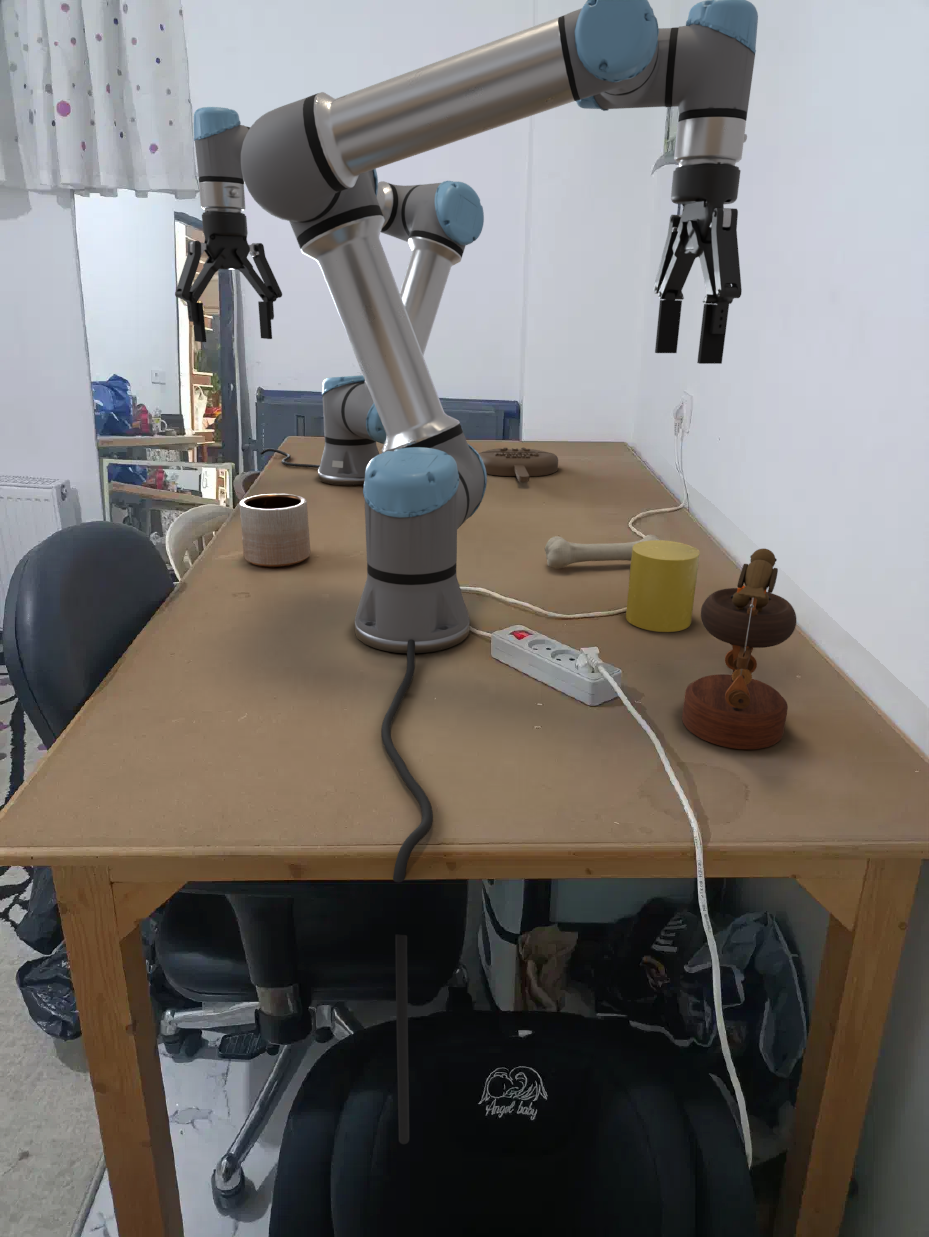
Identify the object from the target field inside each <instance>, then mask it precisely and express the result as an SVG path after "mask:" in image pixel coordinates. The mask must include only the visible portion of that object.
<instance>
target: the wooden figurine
mask: <svg viewBox="0 0 929 1237" xmlns="http://www.w3.org/2000/svg"><path fill="white" fill-rule="evenodd" d="M749 557H750V563H743V565H742V568H741V571H740V574H739V577H738V580H737V585H736V586H737V587H732V588H729V587H728V588H722V589H718V590H716V591H714V592H712V593H711V594H709V595H708V597H706V598H705V600H704V601H703V603H702V605H701V608H700V620H701V623H702V625H703V627H704V628H705V630H706V631H707V632H708V633H709V634H710V636H712V637H714V638H715V639H716V640H719V641H721V642H723V643H726V644H729V645H730V646H732V649H730V650H729V651H727V652H726V654H725V656H724V663H725V665H726V667H727V668H728V669H730V670H732V671H731V674H727V673H725V674H724V673H722V674H721V673H720V674H710V675H705V676H702V677H700V678H697V679H696V680H694V681H692V682H691V683H690V684H688V685H687V686H686V688H685V691H684V698H683V707H682V714H681V721H682V724H683V726H685V728H686V729H687V730H688V731H689V732H690V733H691V734H693V735H694V736H696V737H698V738H699V739H701V740H704V742H705V741H706V742H708V743H710V744H714V745H717V746H721V747H725V748H730V749H738V750H759V749H764V748H769V747H771V746H774V745H775V744H777V743H778V742H780V741H781V740H782V738H783V737H784V731H785V726H786V721H787V716H788V709H789V706H788V702H787V701H786V698H784V696H783V695H782V694H781V693H780V692H779V691H778V690H777V689H775V687H772V686H771V685H769V684H768V683H765V682H764V681H761V680H758V679H755V678H753V673H754V672H755V671H756V669H757V668H758V661H757V659H756V657H755V656H754V655H753V654H752V653H753V650H754V649H763V648H764V649H765V648H771V647H775V646H778V645H780V644H783V643H784V642H786V641H787V640H788V639H790V638H791V636H792V635H793V634H794V632H795V630H796V627H797V613H796V611H795V608H794V607H793V606H792V604H791V603H790V602H789V601H788V600H787V599H785V598H784V597H782V596H780V595H777V594H776V593H773V592H774V589H775V586H776V582H777V578H778V574H779V573H778V572H779V569H778V567H774V566H775V564H776V562H777V560H778V559H777V558H776V556H775V554H774V552H773V551H772V550H771V549H769V548H759V549H756V550H754V552H753V553H752V554H751V555H750V556H749Z"/></svg>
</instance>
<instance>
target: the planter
mask: <svg viewBox="0 0 929 1237" xmlns="http://www.w3.org/2000/svg"><path fill="white" fill-rule="evenodd" d="M239 515H240V526H241V541H242V542H241V543H242V555H243V558H244V560H246V561H247V562H248V563H250V564H252V565H254V566H257V567H258V566H259V567H265V568H266V567H268V568H282V567H289V566H293V565H297V564H300V563H302V562H303V561H305V560H307V559H308V558H309V557H310V555H311V540H310V526H309V512H308V500H307V499H306V498H305V497H303V496H301V495H296V494H290V493H267V494H265V493H264V494H258V495H253V496H249V497H246V498H244V499H242V500H240V502H239Z"/></svg>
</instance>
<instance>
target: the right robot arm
mask: <svg viewBox="0 0 929 1237" xmlns="http://www.w3.org/2000/svg"><path fill="white" fill-rule="evenodd" d="M758 24H759V14H758V10H757V7H756V6H755V5H754V4H753V3H752V2H751V1H750V0H701V1H699V2H697V3H696V4H693V6H692V7H691V8H690V9H689V12H688V17H687V20H686V21H685V25H683V26H677V27H660V28H659V23H658V18H657V17H656V15H655V12H654V9H653V7H652V6H651V4H650V2H649V0H587V1H586V2H585V3H584V4H583V5H582V7H581V8H578V9H576V10H573V11H570V12H568V13H566V14H564V15H561V16H558V17H556V18H553V19H550V20H547V21H545V22H542V23H538V24H537V25H533V26H530V27H528V28H526V29H523V30H520V31H518V32H514V33H512V34H509V35H506V36H504V37H501V38H498V39H495V40H492V41H490V42H487V43H485V44H482V45H479V46H476V47H473V48H470V49H468V50H465V51H462V52H459V53H457V54H454V55H452V56H449V57H446V58H443V59H440V60H438V61H434V62H432V63H429V64H427V65H424V66H422V67H419V68H416V69H413V70H411V71H407V72H404V73H402V74H399V75H396V76H394V77H391V78H389V79H385V80H382V81H380V82H378V83H375V84H372V85H369V86H367V87H364V88H361V89H358V90H356V91H353V92H350V93H347V94H345V95H342V96H339V97H336V98H335V97H333V96H331V95H329V94H328V93H326V92H325V91H321V92H318V93H315V94H312V95H310V96H307V97H303V98H301V99H299V100H296V101H293V102H290V103H288V104H284V105H281V106H279V107H276V108H274V109H272V110H270V111H267V112H265V113H264V114H262V115H260V116H259V118H257V119H256V120H255V121H254V122H253V124H252V125H251V126H249V127H250V129H249V131H248V132H247V134H246V137H245V139H244V141H243V145H242V150H241V170H242V175H243V179H244V182H245V184H244V185H245V186H246V188H247V191H248V192H249V194H250V195H251V197H252V199H253V200H254V201H255V202H256V203H257V205H259V207H261V209H263V210H264V211H265V212H267V213H268V214H270V215H271V216H273V217H275V218H278V219H280V220H282V221H287V222H289V225H290V226H291V229H292V232H293V234H294V237H295V239H296V242H297V244H298V246H299V247H298V248H299V249H300V252H301V253H302V254H303V255H305V256H306V257H309V258H311V259H313V260H315V262H317V264H318V265H319V268H320V271H321V273H322V276H323V278H324V281H325V283H326V286H327V288H328V290H329V293H330V296H331V298H332V300H333V303H334V305H335V308H336V311H337V313H338V316H339V318H340V320H341V323H342V325H343V328H344V330H345V333H346V336H347V339H348V341H349V343H350V346H351V348H352V351H353V353H354V356H355V358H356V361H357V363H358V366H359V369H360V371H361V373H362V374H361V375H363V376H364V379H365V381H366V384H367V386H368V389H369V391H370V394H371V396H372V399H373V402H374V404H375V407H376V409H377V412H378V414H379V417H380V419H381V422H382V424H383V427H384V429H385V432H386V435H387V437H386V441H385V443H384V444H383V446H382V449H381V453H379V455H377V456H376V457H374V458H373V459H372V460H371V461H370V462H369V463H368V465H367V467H366V471H365V482H364V485H363V489H362V493H363V497H364V520H365V550H366V579H365V584H364V586H363V589H362V592H361V596H360V600H359V602H358V606H357V609H356V612H355V617H354V633H355V636H356V638H357V639H358V640H359V641H360V642H362V643H363V644H365V645H367V646H368V647H371V648H374V649H377V650H380V651H384V652H390V653H396V654H397V653H398V654H406V671H405V674H404V677H403V680H402V681H401V684H400V685H399V687H398V689H397V690H396V692H395V695H394V697H393V698H392V699H393V700H392V702H391V704H390V706H389V707H388V708H387V711H386V713H385V715H384V717H383V720H382V724H381V730H380V733H381V734H380V735H381V741H382V744H383V747H384V748H385V751H386V753H387V755H388V757H389V758H390V760H391V762H392V763H393V765H394V767H395V768H396V770H397V771H398V773H399V776H400V777H401V779H402V781H403V783H404V784H405V785H406V787H407V788H408V789H409V791H410V792H411V793H412V796H414V798H415V799H416V800H417V802H418V804H419V807H420V811H421V820H420V823H419V825H418V826H417V827H416V828H415V829H414V830H413V831H412V832H411V833H409V835H408V836H407V837H406V838H405V840H403V842H402V844H401V846H400V848H399V850H398V852H397V856H396V859H395V863H394V869H393V875H392V880H393V881H394V882H395V883H402V882H404V881H405V879H406V873H407V872H406V871H407V866H408V863H409V860H410V856H411V854H412V852H413V851H414V849H415V847H416V846H417V845H418V844H419V843H420V842H421V840H422V839H423V838H424V837H425V836H426V835H427V834H428V833H429V831H431V828H432V825H433V819H434V812H433V807H432V804H431V801H430V799H429V798H428V795H427V794H426V792H425V791H424V789H423V788H422V787H421V785H420V784H419V783H418V782H417V781H416V779H415V778H414V776H413V775H412V773H411V772H410V770H409V768H408V766H407V764H406V763H405V761H404V759H403V758H402V756H401V755H400V753H399V751H398V750H397V748H396V746H395V744H394V743H393V738H392V735H391V734H392V731H391V730H392V728H391V727H392V723H393V720H394V718H395V716H396V714H397V713H398V710H399V709H400V707H401V704H402V702H403V700H404V697H405V695H406V693H407V692H408V690H409V687H410V686H411V683H412V681H413V678H414V674H415V668H416V658H415V657H416V654H425V653H433V652H439V651H443V650H446V649H449V648H452V647H455V646H457V645H458V644H460V643H462V642H463V641H464V640H466V639H467V637H468V636H469V634H470V616H469V612H468V608H467V606H466V601H465V599H464V596H463V593H462V589H461V586H460V583H459V581H458V577H457V561H458V560H457V559H458V558H457V557H458V556H457V554H458V529H460V528H461V526H462V525H463V524H465V522H466V521H467V520H468V519H470V518H471V517H472V516H473V515H474V514H475V513H476V511H477V510H478V509H479V508H480V506H481V503H482V502H483V500H484V496H485V493H486V489H487V484H488V474H486V468H485V465H484V462H483V460H482V458H481V457H480V455H479V454H478V453H479V452H478V451H477V450H476V449H475V448H474V447H473V446H472V445H471V444H469V443H468V441H467V438H466V436H465V433H464V431H463V427H462V425H461V422H460V420H458V419H456V418H455V417H453V416H450V415H448V414H447V413H446V412H445V411H444V408H443V404H442V402H441V400H440V397H439V395H438V392H437V389H436V387H435V386H436V385H435V384H434V381H433V378H432V376H431V373H430V370H429V368H428V365H427V363H426V360H425V356H423V354H422V352H421V349H420V346H419V344H418V341H417V338H416V335H415V333H414V330H413V327H412V325H411V322H410V319H409V317H408V314H407V311H406V309H405V306H404V303H403V301H402V298H401V295H400V290H399V288H398V286H397V282H396V280H395V277H394V274H393V271H392V268H391V266H390V263H389V260H388V258H387V255H386V252H385V250H384V248H383V245H382V242H381V240H380V234H381V229H382V227H383V224H384V221H385V220H384V217H383V214H382V211H381V208H380V206H379V203H378V200H377V193H378V183H379V179H378V178H379V177H378V172H377V169H378V168H382V167H384V166H387V165H391V164H394V163H396V162H400V161H402V160H405V159H409V158H412V157H414V156H416V155H420V154H422V153H426V152H429V151H432V150H435V149H439V148H441V147H444V146H446V145H450V144H453V143H456V142H458V141H462V140H465V139H467V138H471V137H473V136H476V135H479V134H482V133H485V132H488V131H491V130H494V129H497V128H500V127H502V126H506V125H509V124H511V123H514V122H517V121H520V120H523V119H526V118H529V117H532V116H535V115H538V114H541V113H544V112H547V111H550V110H553V109H557V108H559V107H562V106H565V105H568V104H571V103H573V102H575V103H576V105H577V106H578V107H580V108H581V109H584V110H585V109H586V110H587V109H589V110H601V111H603V112H606V111H609V110H621V109H640V108H644V109H645V108H663V107H664V108H672V107H673V108H675V107H678V110H679V111H678V113H679V114H678V121H677V123H676V124H677V125H676V133H675V134H676V135H675V144H674V155H673V160H674V161H675V163H676V164H678V166H677V167H675V169H674V170H673V173H672V181H671V182H672V183H671V193H670V201H671V202H672V203H673V204H676V205H682V212H681V214H671V215H670V217H669V222H668V230H667V236H666V240H665V243H664V247H663V251H662V254H661V258H660V262H659V266H658V270H657V274H656V277H655V282H654V285H653V294H654V295H655V294H657V297H658V300H659V306H658V317H657V327H656V337H655V348H654V353H655V354H677V353H678V344H679V334H680V332H679V331H680V324H681V316H682V315H681V313H682V304H683V300H684V299H685V296H684V294H683V288H684V286H685V284H686V282H687V279H688V277H689V275H690V272H691V270H692V267H693V265H694V263H695V260H696V259H697V258H698V259H699V262H700V268H701V273H702V277H703V282H704V286H705V290H706V291H705V292H706V295H705V296H704V299H703V300H702V304H703V308H702V309H703V311H702V317H701V318H702V319H701V328H700V336H699V344H698V345H699V346H698V353H697V361H696V362H697V364H701V365H705V364H706V365H707V364H708V365H710V364H711V365H712V364H713V365H716V364H717V365H718V364H719V365H721V364H723V356H724V350H725V349H724V348H725V340H726V333H727V324H728V317H729V310H730V309H729V308H730V305H732V303H733V301H734V299H740V298H741V296H742V289H743V288H742V279H741V278H742V277H741V269H740V268H741V267H740V255H739V254H740V253H739V243H738V241H739V240H738V232H737V228H738V217H739V216H738V215H739V210H738V208H729V207H725V206H724V205H730V204H733V203H735V202H736V201H737V200H738V194H739V186H740V179H741V171H742V170H741V169H740V166H737V165H736V164H737V163H740V161H741V160H742V158H743V150H744V144H745V143H746V142H747V139H748V135H747V134H746V127H747V119H748V111H749V104H750V97H751V90H752V89H751V88H752V82H753V73H754V67H755V59H756V52H757V50H756V49H757V48H756V47H757V34H758ZM394 939H395V1004H396V1005H395V1013H396V1018H395V1019H396V1064H397V1070H396V1072H397V1110H398V1112H397V1114H398V1115H397V1116H398V1118H397V1119H398V1142H399V1144H401V1145H406V1144H408V1143H409V1142H410V1096H409V1095H410V1093H409V1092H410V1091H409V1089H410V1088H409V1085H410V1084H409V1018H408V1017H409V1015H408V1014H409V1012H408V1010H409V1009H408V1006H409V1005H408V1004H409V1003H408V1002H409V1000H408V935H407V934H395V938H394Z"/></svg>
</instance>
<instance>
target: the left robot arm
mask: <svg viewBox="0 0 929 1237" xmlns="http://www.w3.org/2000/svg"><path fill="white" fill-rule="evenodd" d="M250 127H251V126H247V125H243V124H241V120H240V115H239V113H238V112H237V111H236V110H235V109H232V108H231V109H230V108H228V107H221V106H204V107H199V108H198V109H196V110H195V111H194V113H193V141H194V146H195V147H194V148H195V158H196V165H197V166H196V167H197V174H198V188H199V201H200V208H201V209H202V210H204V212H202V214H201V220H202V221H201V222H202V223H201V224H202V231H203V235H204V242H201V241H200V240H189V241H188V242H187V255H186V258H185V261H184V264H183V268H182V271H181V273H180V277H179V279H178V283H177V286H176V289H175V292H174V296H175V297H176V298H177V299H181V300H183V302H185V303H186V308H187V316H188V317H187V318H188V321H189V322H191V323H192V327H193V334H194V342H198V343H207V333H206V324H205V311H204V303H203V302H199V300H200V298H201V297H202V295H203V293H205V290H206V289H207V288H208V285H209V284H210V282H211V281H212V279H213V277H214V276H215V274H216V273H217V272H218V271H219V270H231V271H232V270H235V271H238V272H240V273H241V274H242V275H243V276H244V278H245V279H246V280H247V282H248V283H249V285H251V287H252V288H253V289H254V291H255V292H256V293H257V295H258V297H260V299H261V300H262V301H261V300H260V301H258V302H257V303H258V315H259V316H258V317H259V334H260V339H264V340H273V329H272V328H273V327H272V321H273V320H274V318H275V312H274V310H275V309H274V302H277V299H279V298H282V297H283V291H282V290H281V288H280V285H279V283H278V281H277V279H276V276H275V275H274V272H273V270H272V267H271V265H270V264H269V261H268V259H267V257H266V252H265V246H264V244H263V243H261V242H253V243H251V244H249V242H248V233H249V232H248V231H249V230H248V220H247V219H248V218H247V215H246V214H245V213H244V212H243V211H245V210H246V197H245V185H246V184H245V182H244V179H243V175H242V170H241V150H242V145H243V141H244V139H245V137H246V134H247V132H248V131H249V129H250ZM377 200H378V203H379V206H380V208H381V211H382V214H383V217H384V220H385V221H384V224H383V227H382V229H381V232H380V234H381V233H382V234H384V235H387V236H390V237H393V238H395V239H397V240H401V241H404V242H407V243H408V246H409V248H410V250H411V254H410V255H411V256H410V258H409V261H408V264H407V268H406V271H405V275H404V278H403V280H402V284H401V287H400V290H399V293H400V295H401V298H402V301H403V303H404V306H405V309H406V311H407V314H408V317H409V319H410V322H411V325H412V327H413V330H414V333H415V335H416V338H417V341H418V344H419V346H420V349H421V352H422V354H423V357H425V356H424V355H425V353H426V350H427V346H428V342H429V339H430V336H431V333H432V330H433V327H434V324H435V320H436V317H437V314H438V310H439V307H440V305H441V301H442V298H443V294H444V293H445V292H444V291H445V289H446V286H447V282H448V278H449V276H450V272H451V270H452V267H453V266H456V265H458V264H459V263H460V262H461V261H462V258H463V255H464V252H465V249H466V247H467V246H469V245H471V244H473V243H474V242H475V241H477V239H478V238H479V237H480V236H481V233H482V232H483V229H484V222H485V214H484V207H483V205H482V204H481V199H480V196H479V195H478V192H476V191H475V189H474V188H473V187H472V186H471V185H469V184H467V183H466V182H464V181H454V180H445V181H442V182H436V183H435V182H434V183H423V184H413V185H402V184H401V185H399V184H393V183H390V182H387V181H382V180H381V181H378V193H377ZM204 253H205V254H206V256H207V259H206V260H205V262H204V263H203V265H202V269H201V270H200V272H199V274H198V275H197V277H196V278H195V276H196V274H197V271H198V268H199V265H200V261H201V257H202V255H203V254H204ZM249 255H250V256H251V257H252V260H253V262H254V264H255V267H256V269H257V271H258V272H256V270H255V268H254V265H253V264H252V263H251V262H250V260H249V259H248V256H249ZM258 273H259V274H258ZM321 399H322V412H323V413H322V414H323V415H322V416H323V432H324V434H323V435H324V448H323V451H322V456H321V459H320V464H312V463H296V462H295V463H294V462H288V461H289V460H290V459H291V457H292V456H291V454H290V453H287V452H285V451H284V450H283V451H282V450H280V449H276V448H271V447H270V448H269V447H268V448H265V449H263V450H261V452H260V453H259V455H261V456H262V455H265V453H269V452H272V453H277V454H280V455H282V456H284V458H282V460H281V464H282V465H284V466H288V467H294V468H295V467H297V468H298V467H299V468H311V469H312V468H313V469H317V475H318V476H317V477H318V480H319V481H320V482H322V483H325V484H327V485H328V484H329V485H336V486H364V482H365V471H366V467H367V465H368V463H369V462H370V461H371V460H372V459H373V458H374V457H376V456H377V455H379V454H380V450H379V449H378V445H377V443H379V444H382V445H384V443H385V441H386V437H387V435H386V432H385V429H384V427H383V424H382V422H381V419H380V417H379V414H378V412H377V409H376V407H375V404H374V402H373V399H372V396H371V394H370V391H369V389H368V386H367V384H366V381H365V379H364V376H363V374H361V375H347V376H331V377H326V378H325V379H324V380H323V381H322V388H321Z"/></svg>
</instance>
